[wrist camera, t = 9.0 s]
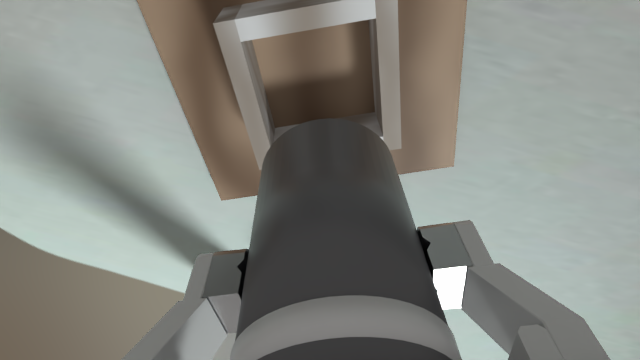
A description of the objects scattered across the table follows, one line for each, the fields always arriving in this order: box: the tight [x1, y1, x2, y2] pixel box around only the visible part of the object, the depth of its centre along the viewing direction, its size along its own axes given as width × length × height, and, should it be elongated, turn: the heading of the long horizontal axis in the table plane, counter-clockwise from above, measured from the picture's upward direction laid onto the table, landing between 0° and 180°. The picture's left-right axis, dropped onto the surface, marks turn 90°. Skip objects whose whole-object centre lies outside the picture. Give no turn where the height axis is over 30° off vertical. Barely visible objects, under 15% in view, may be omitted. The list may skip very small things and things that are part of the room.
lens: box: [230, 118, 462, 360], centre depth 11 cm, size 5×5×8 cm
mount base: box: [137, 0, 467, 201], centre depth 25 cm, size 20×20×5 cm
